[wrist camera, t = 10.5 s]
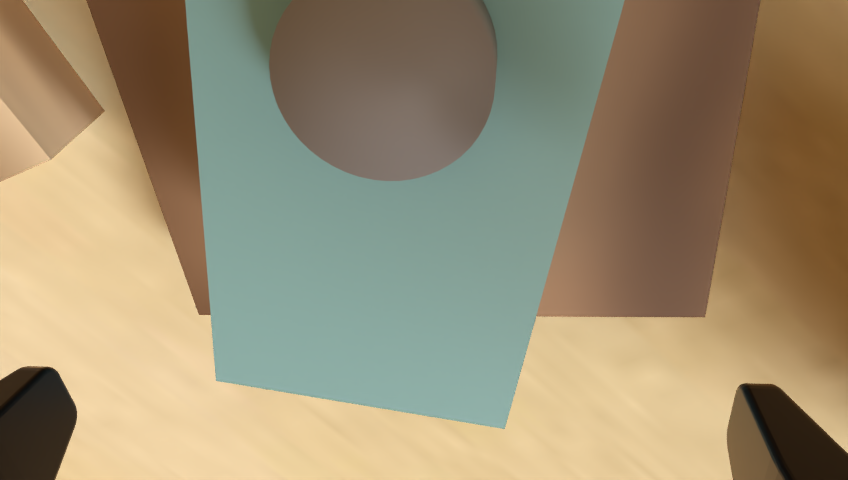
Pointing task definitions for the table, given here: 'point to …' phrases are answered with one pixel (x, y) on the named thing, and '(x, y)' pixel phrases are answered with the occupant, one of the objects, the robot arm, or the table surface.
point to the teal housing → (388, 189)
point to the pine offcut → (36, 94)
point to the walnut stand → (597, 171)
